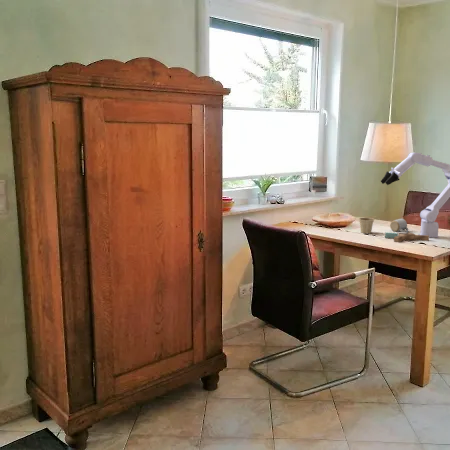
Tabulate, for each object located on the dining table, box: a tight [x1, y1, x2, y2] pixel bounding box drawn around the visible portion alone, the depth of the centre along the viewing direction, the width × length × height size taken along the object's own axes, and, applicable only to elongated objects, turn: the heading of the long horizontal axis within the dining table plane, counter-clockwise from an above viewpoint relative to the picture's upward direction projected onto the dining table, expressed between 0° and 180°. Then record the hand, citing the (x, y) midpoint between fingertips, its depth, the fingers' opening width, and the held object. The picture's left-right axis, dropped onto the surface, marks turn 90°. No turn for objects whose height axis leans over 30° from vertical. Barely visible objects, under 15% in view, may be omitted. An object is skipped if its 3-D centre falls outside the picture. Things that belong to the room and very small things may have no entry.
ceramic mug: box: [389, 218, 409, 233], centre depth 308 cm, size 11×8×8 cm
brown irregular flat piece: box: [393, 232, 430, 243], centre depth 284 cm, size 22×13×3 cm, turn 92°
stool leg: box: [384, 231, 409, 239], centre depth 288 cm, size 13×2×4 cm, turn 72°
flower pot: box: [358, 217, 375, 234], centre depth 304 cm, size 9×9×9 cm
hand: (384, 183), depth 287 cm, fingers open, 7 cm apart
